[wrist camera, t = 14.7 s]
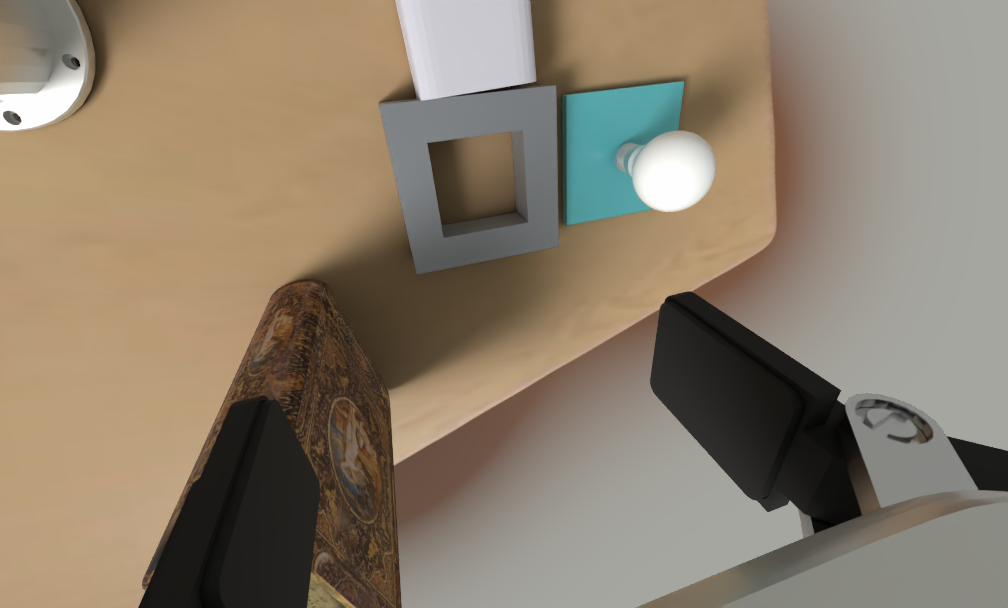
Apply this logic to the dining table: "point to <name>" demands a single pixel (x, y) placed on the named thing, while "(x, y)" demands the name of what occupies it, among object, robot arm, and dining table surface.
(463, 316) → the dining table surface
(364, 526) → the book
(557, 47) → the dining table surface
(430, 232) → the frame
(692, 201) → the lightbulb
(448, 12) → the charger
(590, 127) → the plate
